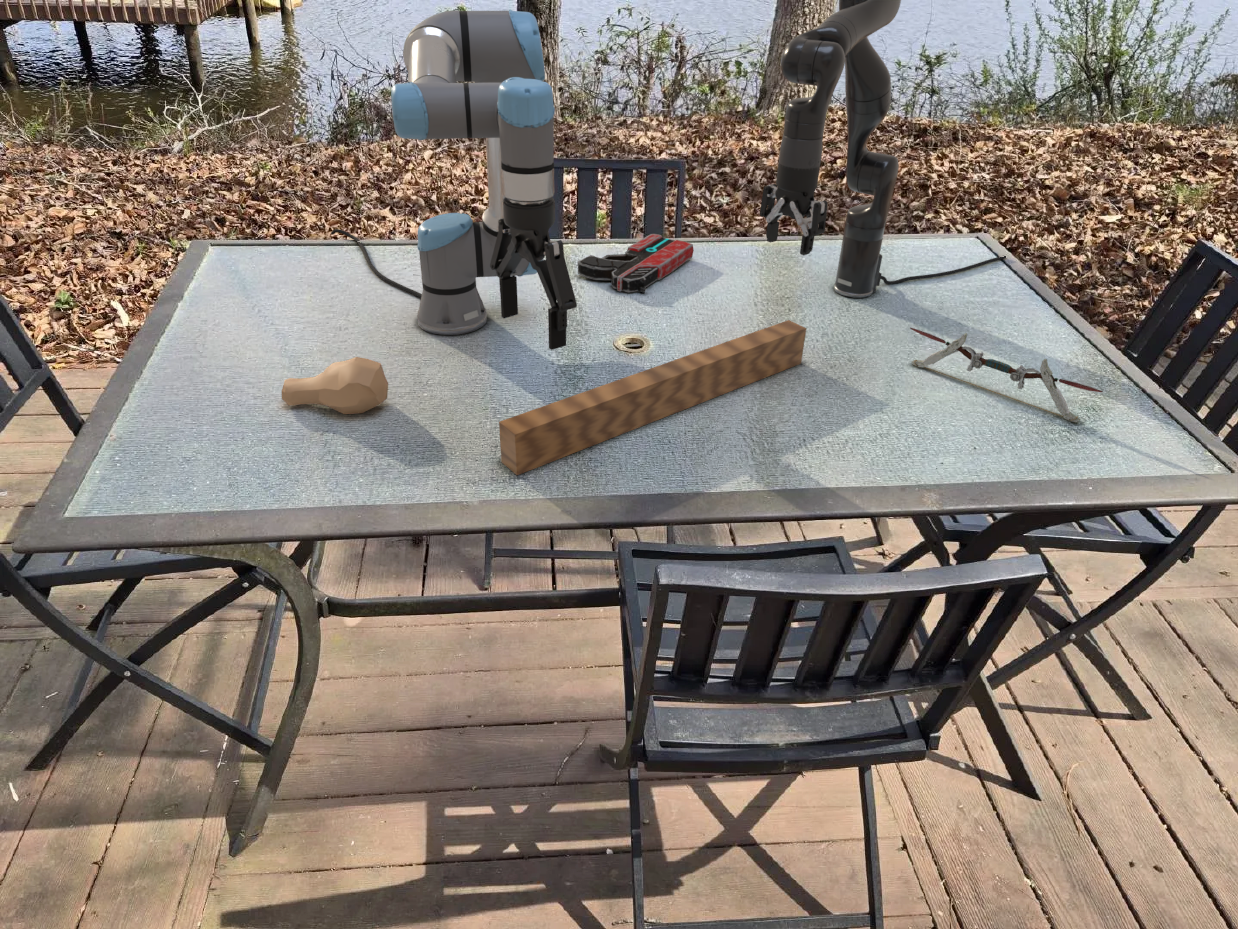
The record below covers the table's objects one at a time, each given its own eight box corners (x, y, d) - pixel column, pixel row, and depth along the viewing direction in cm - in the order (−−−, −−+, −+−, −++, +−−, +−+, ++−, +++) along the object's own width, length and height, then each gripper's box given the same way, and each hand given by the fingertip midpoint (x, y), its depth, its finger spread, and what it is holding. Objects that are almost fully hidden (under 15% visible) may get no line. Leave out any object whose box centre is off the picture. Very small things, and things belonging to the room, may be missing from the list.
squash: (388, 420, 161) (373, 382, 155) (283, 428, 163) (264, 391, 156) (399, 383, 169) (385, 345, 163) (299, 392, 170) (282, 354, 164)
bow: (1091, 425, 165) (1109, 378, 160) (1088, 428, 164) (1106, 381, 159) (904, 358, 187) (914, 315, 181) (900, 361, 186) (910, 317, 180)
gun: (571, 262, 216) (639, 281, 209) (634, 226, 238) (698, 242, 231) (571, 279, 219) (638, 298, 211) (633, 242, 241) (696, 258, 233)
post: (517, 475, 147) (515, 434, 143) (501, 462, 150) (498, 421, 146) (801, 363, 184) (806, 328, 180) (783, 354, 187) (788, 319, 183)
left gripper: (601, 216, 120) (599, 354, 132) (504, 171, 136) (510, 298, 148) (556, 226, 117) (558, 367, 129) (462, 179, 132) (472, 309, 144)
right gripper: (843, 166, 156) (829, 254, 165) (784, 149, 165) (774, 233, 174) (815, 173, 152) (802, 263, 161) (756, 155, 161) (747, 240, 171)
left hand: (533, 331), depth 139 cm, fingers open, 13 cm apart
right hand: (788, 247), depth 168 cm, fingers open, 8 cm apart
